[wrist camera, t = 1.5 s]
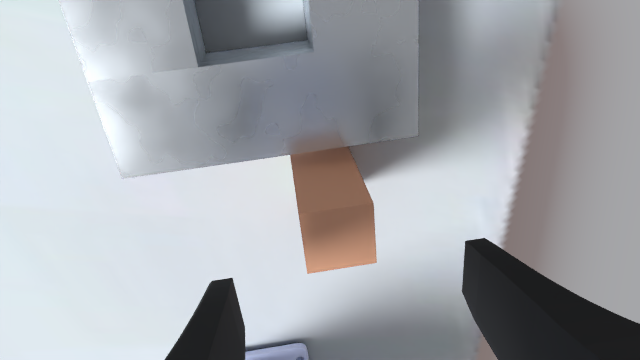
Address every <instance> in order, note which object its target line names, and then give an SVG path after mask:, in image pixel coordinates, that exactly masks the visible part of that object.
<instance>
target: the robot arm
mask: <svg viewBox="0 0 640 360" xmlns="http://www.w3.org/2000/svg"><path fill="white" fill-rule="evenodd" d="M462 293H463V295H464V297H465V300H466V302H467V304H468V307H469V309H470V311H471V313H472V316H473V318H474V320H475V322H476V324H477V325H478V327H479V329H480V330H481V332H482V334H483V335H484V337H485V339H486V340H487V342H488V344H489V345H490V347H491V349H492V350H493V352H494V354H495V355H496V357H497V359H498V360H640V324H638V323H636V322H634V321H631V320H628V319H626V318H624V317H622V316H619V315H617V314H615V313H613V312H611V311H609V310H606V309H604V308H602V307H600V306H598V305H596V304H594V303H592V302H590V301H588V300H586V299H584V298H582V297H580V296H578V295H576V294H574V293H573V292H571V291H569V290H567V289H566V288H564V287H562V286H560V285H558V284H556V283H555V282H553V281H551V280H550V279H548V278H546V277H545V276H543V275H541V274H540V273H538V272H537V271H535V270H534V269H531V268H530V267H529V266H527V265H526V264H524V263H523V262H521V261H519V260H518V259H516V258H515V257H513V256H511V255H510V254H509V253H507V252H506V251H504V250H503V249H501V248H500V247H498V246H497V245H495V244H493V243H492V242H490V241H489V240H487V239H485V238H482V239H475V240H469V241H465V255H464V270H463V285H462ZM165 360H309V357H308V351H307V347H306V345H305V344H303V343H295V344H289V345H283V346H277V347H271V348H265V349H259V350H253V351H247V352H245V326H244V322H243V318H242V314H241V310H240V306H239V302H238V298H237V294H236V290H235V287H234V283H233V279H232V278H228V279H222V280H216V281H212V282H211V283H210V284H209V286H208V288H207V290H206V292H205V294H204V296H203V297H202V299H201V301H200V303H199V305H198V307H197V309H196V310H195V312H194V314H193V316H192V318H191V319H190V321H189V323H188V324H187V326H186V328H185V329H184V331H183V333H182V334H181V336H180V337H179V339H178V341H177V342H176V344H175V345H174V347H173V348H172V350H171V351H170V353H169V354H168V356H167V357H166V358H165Z"/></svg>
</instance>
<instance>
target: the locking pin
mask: <svg viewBox="0 0 640 360" xmlns="http://www.w3.org/2000/svg"><path fill="white" fill-rule="evenodd" d="M290 156H291V163H292V170H293V178H294V185H295V192H296V199H297V206H298V213H299V220H300V227H301V233H302V240H303V247H304V254H305V260H306V267H307V274H309V273H315V272H321V271H327V270H334V269H340V268H346V267H353V266H359V265H365V264H372V263H377V261H376V242H375V223H374V205H373V201H372V199H371V197H370V194H369V192H368V190H367V188H366V185H365V183H364V181H363V179H362V176H361V174H360V172H359V170H358V167H357V165H356V163H355V161H354V158H353V156H352V154H351V152H350V149H349V147H348V146H347V147H340V148H333V149H326V150H319V151H312V152H305V153H298V154H291V155H290Z"/></svg>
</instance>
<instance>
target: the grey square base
mask: <svg viewBox="0 0 640 360" xmlns="http://www.w3.org/2000/svg"><path fill="white" fill-rule="evenodd" d="M58 1H59V4H60V6H61V9H62V12H63V15H64V18H65V21H66V23H67V26H68V29H69V32H70V35H71V37H72V40H73V43H74V46H75V49H76V51H77V54H78V57H79V60H80V63H81V65H82V68H83V71H84V74H85V77H86V79H87V82H88V85H89V88H90V91H91V93H92V96H93V99H94V102H95V105H96V108H97V110H98V113H99V116H100V119H101V122H102V124H103V127H104V130H105V133H106V136H107V138H108V141H109V144H110V147H111V150H112V152H113V155H114V158H115V161H116V164H117V166H118V169H119V172H120V175H121V178H122V179H124V178H131V177H138V176H145V175H152V174H159V173H166V172H173V171H180V170H187V169H194V168H201V167H208V166H215V165H222V164H229V163H236V162H243V161H250V160H257V159H264V158H271V157H277V156H284V155H291V154H298V153H305V152H312V151H319V150H326V149H333V148H340V147H347V146H354V145H361V144H368V143H375V142H382V141H389V140H396V139H403V138H410V137H417V136H418V72H419V0H303V4H304V12H305V21H306V30H307V39H308V40H305V41H297V42H289V43H281V44H274V45H266V46H258V47H250V48H242V49H235V50H227V51H219V52H211V53H206V52H205V47H204V42H203V38H202V33H201V29H200V24H199V20H198V15H197V11H196V6H195V2H194V0H58Z"/></svg>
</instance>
